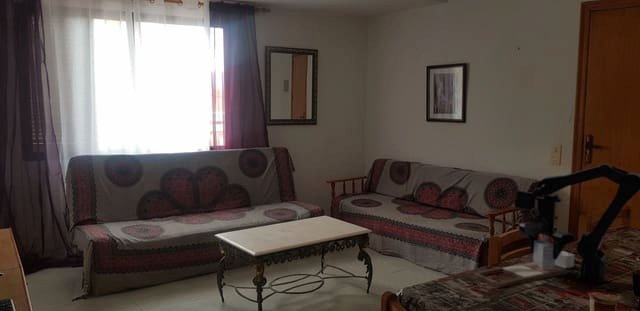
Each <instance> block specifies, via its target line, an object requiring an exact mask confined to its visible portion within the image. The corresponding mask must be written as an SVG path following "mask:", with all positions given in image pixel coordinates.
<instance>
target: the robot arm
mask: <svg viewBox="0 0 640 311" xmlns="http://www.w3.org/2000/svg"><path fill="white" fill-rule="evenodd" d="M603 177H604V178H606V179H608V180H610V181H611V182H613V183H615V184H617V185H618V187H617V190H616V193H615V196H614V198H613V199H612V200H611V202H610V203H609V205H608V207H607V208H606V210H605V211H604V213H603V214H602V216H601V217H600V219H599V220H598V221H597V223H596V225H595V226H594V228H593V229H592V230H591V231H590V232H589V231H588V230H585V232H583V233H582V236H581V237H580V239H579V240H578V241H577V242H576V245H577V246H576V252H577V254H578V256H580V257H581V259H582V261H581V263H580V274H579V276H578V277H577V278H578V279H581V280H584V281H586V282H589V283H592V284H594V285H595V284H596V285H597V284H601V283H606V282H608V279H607V278H606V277H605V276H606V264H607V263H604V260H605V258H606V256H607V255H606V253H605V252H604V251H603V250H602V249H601V248H600V247H601V245H602V242H603V239H604V237H605V235H606V233H607V232H608V231H609V229H610V227H611V226H612V225H613V223H614V222H615V220H616V219H617V217H618V216H619V215H620V213H621V212H622V209H623V208H624V207H625V205H626V204H627V203H628V202H629V201H630V200H631V199H632V198H633V197H634V196H635V195H636V194H637V193H638V192H639V191H640V173H638V172H632V171H631V172H628V171H626V170H624V169H621V168H618V167H616V166H613V165H611V164H609V163H602V164H600V165H597V166H594V167H589V168H586V169H583V170H580V171H575V172H572V173H569V174H566V175H554V176H546V177H544V178H542V179H541V180H539V181H538V182H537V187H536V189H534V190H533V191H532V192H531V191H525V190H517V192H516V193H517V194H516V196H515V200H514V207H515V209H516V210H522V211H523V210H524V211H531V212H532V211H534V209H537V214H535V215H534V217H533V220H530V221H528V222H521V223H520V224H519V225H518V231H519V232H521V234H522V235H524V236H525V237H526V239H527V241H528V244H529V247H530V251H531V253H533V252H534V241H535V240H539V234H544V235H548V236H551V237H552V239H553V240H554V241H552V243H553V245H554V251H553V259H554V260H556V259H557V258H558V256H559V254H560V253H561V252H563V251H564V250H563V249H564V248H565V247H566V245H567V244H570V243H573V242H574V240H575V237H574V235H573V233H571V232H568V231H564V230H561V231H558V227H556V225H555V224H556V223H555V222H556V220H558V219H559V218H558V217H559V216H558V215H556V209H557V203H561V202H563V198H561V197H560V195H559V194H555V195H551V194H554V193H556V192H559V191H560V190H563V189H565V188H566V187H567V188H568V187H570V186H574V185H577V184H581V183H585V182H588V181H592V180H595V179H600V178H603ZM543 195H544V197H543ZM554 231H557V232H554Z"/></svg>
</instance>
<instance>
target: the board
mask: <svg viewBox="0 0 640 311" xmlns="http://www.w3.org/2000/svg"><path fill="white" fill-rule="evenodd" d="M568 272H569V271H568V270H567V269H566V268H563V267H560V266H557V265H555V269H554V270H542V269H541V268H540V267H538V266H537V265H536V264H534V263H533V261H528V262H524V263H518V264H513V265H507V266H506V265H505V266H501V267H500V266H499V267H494V268H487V269H483V270H476V271H472V272H470V277H473V278H475V279H476V280H479V281H482V282H483V283H486V284H488V285H490V284H491V285H490V286H492V285H493V287H494V288H497V289H499V288H503V287H508V286H513V285H517V284H522V283H523V284H524V283H527V282H531V281H537V280H541V279H546V278H547V279H548V278H552V277H556V276H561V275H566V274H568ZM497 273H504V274H506V275H509V276H512V277H514V278H512V279H511V278H510V279H505V280H500V281H496V280H494V279H492V278H490V277H487V275H488V276H489V275H493V274H497Z"/></svg>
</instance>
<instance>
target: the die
mask: <svg viewBox="0 0 640 311" xmlns="http://www.w3.org/2000/svg"><path fill="white" fill-rule="evenodd" d="M555 266H556V267H559V268H562V269H569V268H574V267H575V254H573V253H570V252H566V251H564V250H562V251H561V253H560V254H559V256H558V258H557V259H556V260H555Z"/></svg>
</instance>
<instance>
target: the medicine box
mask: <svg viewBox="0 0 640 311" xmlns="http://www.w3.org/2000/svg"><path fill="white" fill-rule="evenodd" d="M553 251H554V245H552V244H551V243H549V242H547V241H546V240H539V239H537V240H535V241H534V252H532V254H533V255H532V256H533V258H532V262H533V263H534V264H536V265H537V266H538V267H540V268H541V269H542V270H554V269H555V266H556V265H555V260H554V259H553Z"/></svg>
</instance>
